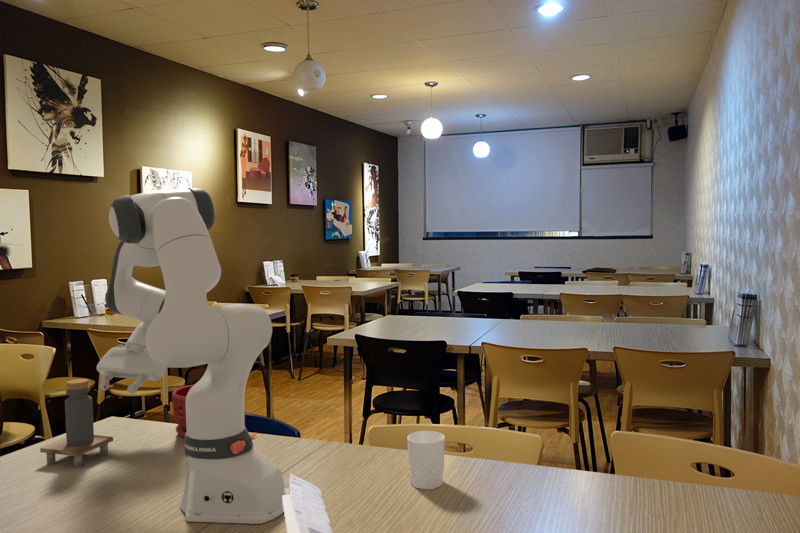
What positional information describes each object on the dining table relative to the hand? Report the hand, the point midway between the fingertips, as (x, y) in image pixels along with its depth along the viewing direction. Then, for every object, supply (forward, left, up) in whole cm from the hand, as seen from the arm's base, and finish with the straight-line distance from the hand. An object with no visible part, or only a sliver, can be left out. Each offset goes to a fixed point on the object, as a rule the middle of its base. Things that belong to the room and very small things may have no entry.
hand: (116, 390), depth 159 cm
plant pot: (-16, -12, -14) cm, 24 cm away
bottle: (0, +12, -10) cm, 16 cm away
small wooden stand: (+1, +12, -14) cm, 18 cm away
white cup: (-84, +5, -14) cm, 85 cm away
